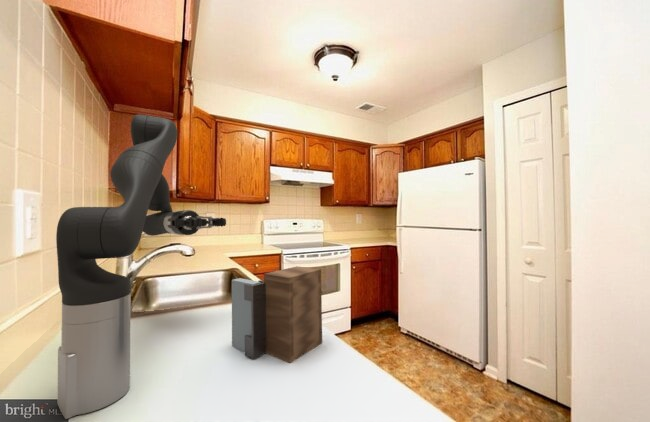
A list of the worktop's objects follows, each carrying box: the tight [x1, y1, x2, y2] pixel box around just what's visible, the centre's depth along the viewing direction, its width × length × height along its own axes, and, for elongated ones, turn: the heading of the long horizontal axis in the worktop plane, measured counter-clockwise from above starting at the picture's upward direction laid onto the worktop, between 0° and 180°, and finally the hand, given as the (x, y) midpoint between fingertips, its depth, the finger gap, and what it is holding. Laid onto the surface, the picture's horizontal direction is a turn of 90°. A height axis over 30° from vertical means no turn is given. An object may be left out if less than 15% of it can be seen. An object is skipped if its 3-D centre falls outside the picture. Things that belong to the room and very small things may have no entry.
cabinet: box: [263, 265, 323, 364], centre depth 64 cm, size 11×8×18 cm
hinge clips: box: [244, 280, 267, 361], centre depth 61 cm, size 5×3×16 cm
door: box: [231, 277, 261, 353], centre depth 64 cm, size 2×8×16 cm, turn 53°
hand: (210, 222), depth 73 cm, fingers open, 8 cm apart
